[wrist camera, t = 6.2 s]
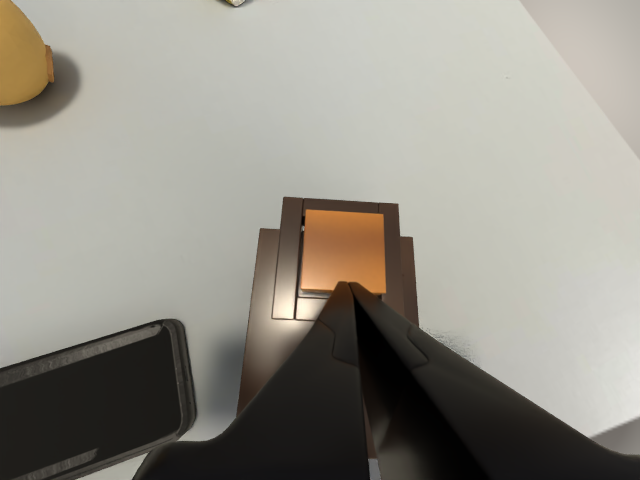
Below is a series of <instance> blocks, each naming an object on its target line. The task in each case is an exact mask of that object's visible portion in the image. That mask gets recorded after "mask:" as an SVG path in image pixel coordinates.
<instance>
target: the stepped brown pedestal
mask: <svg viewBox="0 0 640 480" xmlns="http://www.w3.org/2000/svg"><path fill="white" fill-rule="evenodd" d="M306 210H323V211H339V212H356V213H372V214H383V218H384V248H385V277H386V293H385V294H380V295H375V296H377V297H378V298H379V299H381V300H382V301H383V302H385V303H386V304H387V305H389V306H390V307H391V308H393V309H394V310H395V311H397V312H398V313H399V314H401V315H402V316H403V317H405V318H406V319H407V320H409V321H410V322H411V323H412V324H415V325H416V326H417V327H419V320H418V306H417V291H416V277H415V263H414V249H413V237H402V236H400V226H399V207H398V204H394V203H375V202H359V201H343V200H327V199H311V198H304V199H303V198H295V197H284V198H283V205H282V215H281V225H280V229H264V228H260V233H259V241H258V249H257V256H256V264H255V272H254V280H253V288H252V296H251V304H250V312H249V320H248V328H247V336H246V343H245V351H244V359H243V367H242V375H241V383H240V391H239V399H238V407H237V415H236V417H237V416H238V415H239V414H240V413H241V412H242V410H243V409H244V408H245V407H246V406H247V404H248V403H249V402H250V401H251V400H252V399H253V397H254V396H255V395H256V394H257V393H258V392H259V390H260V389H261V388H262V387H263V386H264V385H265V383H266V382H267V381H268V380H269V379H270V377H271V376H272V375H273V374H274V373H275V372H276V370H277V369H278V368H279V367H280V366H281V365H282V363H283V362H284V361H285V360H286V359H287V357H288V356H289V355H290V354H291V353H292V352H293V350H294V349H295V348H296V347H297V346H298V345H299V343H300V342H301V341H302V340H303V338H304V337H305V336H306V335H307V333H308V332H309V330H310V329H311V327H312V326H313V324H314V322H315V321H316V319H317V318H318V316H319V314H320V312H321V311H322V309H323V307H324V305H325V304H326V302H327V300H328V298H329V297H330V295H331V294H328V293H309V292H302V291H301V288H300V287H301V272H302V258H303V243H304V231H303V226H305V214H306ZM362 395H363V394H362ZM363 406H364V417H365V429H366V440H367V451H368V459H377V453H376V450H375V446H374V442H373V437H372V433H371V429H370V424H369V420H368V416H367V411H366V407H365V402H364V398H363Z"/></svg>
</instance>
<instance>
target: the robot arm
mask: <svg viewBox="0 0 640 480" xmlns="http://www.w3.org/2000/svg"><path fill="white" fill-rule="evenodd" d="M362 394H363V395H362ZM363 398H364V402H365V407H366V411H367V416H368V420H369V424H370V429H371V433H372V437H373V442H374V446H375V450H376V453H377V459H378V464H379V470H380V476H381V480H640V455H630V454H622V453H618V452H615V451H612V450H610V449H608V448H606V447H604V446H601V445H599V444H598V443H596V442H594V441H592V440H591V439H589V438H588V437H586V436H584V435H583V434H581V433H580V432H578V431H577V430H575V429H574V428H572V427H570V426H569V425H567V424H566V423H564V422H563V421H561V420H560V419H558V418H556V417H555V416H553V415H552V414H550V413H549V412H547V411H546V410H544V409H542V408H541V407H539V406H538V405H536V404H535V403H533V402H532V401H530V400H528V399H527V398H525V397H524V396H522V395H521V394H519V393H517V392H516V391H514V390H513V389H511V388H510V387H508V386H507V385H505V384H503V383H502V382H500V381H499V380H497V379H496V378H494V377H493V376H491V375H489V374H488V373H486V372H485V371H483V370H482V369H480V368H479V367H477V366H475V365H474V364H472V363H471V362H469V361H468V360H466V359H465V358H463V357H461V356H460V355H458V354H457V353H455V352H454V351H452V350H451V349H449V348H447V347H446V346H444V345H443V344H441V343H440V342H438V341H437V340H435V339H434V338H432V337H431V336H430V335H428V334H427V333H425V332H424V331H423V330H421V329H420V328H419V327H417V326H416V325H415V324H412V323H411V322H410V321H409V320H407V319H406V318H405V317H403V316H402V315H401V314H399V313H398V312H397V311H395V310H394V309H393V308H391V307H390V306H389V305H387V304H386V303H385V302H383V301H382V300H381V299H379V298H378V297H377V296H375V295H374V294H373V293H371V292H370V291H369V290H367V289H366V288H365V287H363V286H362V285H361V284H359V283H358V282H347V281H338V283H337V285H336V286H335V288H334V290H333V292H332V293H331V295H330V297H329V298H328V300H327V302H326V304H325V305H324V307H323V309H322V311H321V312H320V314H319V316H318V318H317V319H316V321H315V322H314V324H313V326H312V327H311V329H310V330H309V332H308V333H307V335H306V336H305V337H304V338H303V340H302V341H301V342H300V343H299V345H298V346H297V347H296V348H295V349H294V350H293V352H292V353H291V354H290V355H289V356H288V357H287V359H286V360H285V361H284V362H283V363H282V365H281V366H280V367H279V368H278V369H277V370H276V372H275V373H274V374H273V375H272V376H271V377H270V379H269V380H268V381H267V382H266V383H265V385H264V386H263V387H262V388H261V389H260V390H259V392H258V393H257V394H256V395H255V396H254V397H253V399H252V400H251V401H250V402H249V403H248V404H247V406H246V407H245V408H244V409H243V410H242V412H241V413H240V414H239V415H238V416H237V417H236V419H235V420H234V421H233V422H232V423H231V424H230V426H229V427H228V428H227V429H226V430H225V431H224V432H223V433H222V434H220V435H218V436H217V437H215V438H213V439H210V440H208V441H200V442H198V441H175V442H168V443H164V444H161V445H159V446H157V447H155V448H154V449H152V450H151V451H150V452H149V453H148V455H147V456H146V458H145V459H144V461H143V462H142V464H141V466H140V467H139V468H138V470H137V472H136V474H135V475H134V477H133V479H132V480H370V474H369V462H368V451H367V440H366V429H365V417H364V406H363Z"/></svg>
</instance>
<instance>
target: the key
mask: <svg viewBox="0 0 640 480" xmlns="http://www.w3.org/2000/svg"><path fill="white" fill-rule="evenodd" d="M338 281H347V282H358V283H359V284H361V285H362V286H363V287H365V288H366V289H367V290H369V291H370V292H371V293H373V294H374V295H380V294H385V293H386V277H385V248H384V218H383V214H372V213H356V212H339V211H323V210H306V214H305V229H304V243H303V258H302V272H301V287H300V288H301V291H302V292H309V293H328V294H331V293H332V292H333V290H334V288H335V286H336V285H337V283H338Z"/></svg>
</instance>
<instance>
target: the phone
mask: <svg viewBox="0 0 640 480" xmlns="http://www.w3.org/2000/svg"><path fill="white" fill-rule="evenodd" d="M195 416H196V408H195V401H194V394H193V388H192V381H191V374H190V367H189V361H188V354H187V347H186V340H185V333H184V329H183V326H182V324H181V323H180V322H179V321H177V320H175V319H162V320H156V321H153V322H150V323H147V324H143V325H140V326H137V327H134V328H130V329H127V330H124V331H120V332H117V333H114V334H111V335H107V336H104V337H101V338H98V339H94V340H91V341H88V342H85V343H81V344H78V345H75V346H72V347H68V348H65V349H62V350H59V351H55V352H52V353H49V354H46V355H42V356H39V357H36V358H33V359H29V360H26V361H23V362H20V363H16V364H13V365H10V366H7V367H3V368H0V480H76V479H78V478H81V477H84V476H86V475H89V474H92V473H94V472H97V471H100V470H102V469H105V468H108V467H110V466H113V465H116V464H118V463H121V462H124V461H126V460H129V459H132V458H134V457H137V456H140V455H142V454H145V453H148V452H150V451H151V450H152V449H154V448H155V447H157V446H159V445H161V444H164V443H168V442H175V441H177V440H178V439H179V438H180V437H181V436H182V435H183V434H184V433H185V432H186V431H187V430H188V429H189V428H190V427H191V426H192V424H193V422H194V420H195Z"/></svg>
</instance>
